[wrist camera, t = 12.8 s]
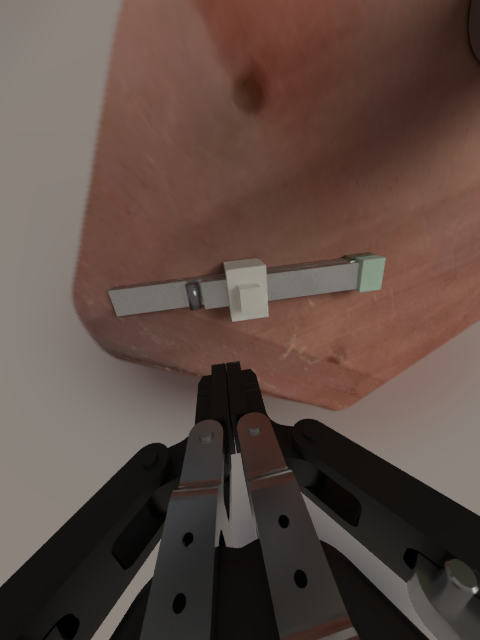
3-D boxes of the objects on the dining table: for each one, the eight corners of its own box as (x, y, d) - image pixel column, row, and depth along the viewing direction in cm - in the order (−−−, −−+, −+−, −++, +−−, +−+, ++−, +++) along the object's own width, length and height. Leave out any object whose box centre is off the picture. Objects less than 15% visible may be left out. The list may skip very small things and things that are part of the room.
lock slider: (229, 307, 28) (233, 328, 23) (223, 262, 26) (226, 274, 21) (260, 303, 29) (272, 323, 24) (257, 257, 26) (269, 268, 21)
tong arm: (205, 307, 26) (205, 313, 25) (200, 277, 25) (199, 281, 23) (371, 285, 28) (380, 289, 26) (376, 255, 26) (385, 257, 25)
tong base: (122, 313, 27) (112, 324, 25) (112, 284, 26) (100, 293, 23) (369, 280, 29) (386, 287, 27) (373, 251, 28) (392, 255, 25)
